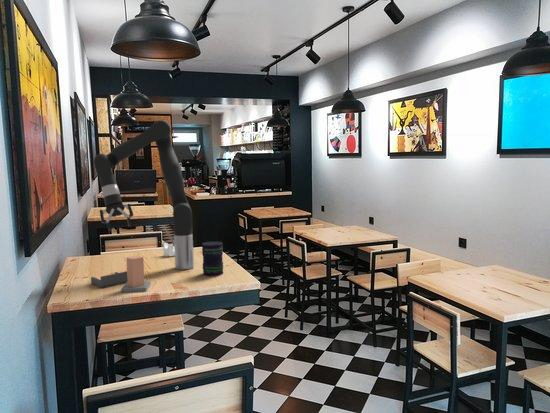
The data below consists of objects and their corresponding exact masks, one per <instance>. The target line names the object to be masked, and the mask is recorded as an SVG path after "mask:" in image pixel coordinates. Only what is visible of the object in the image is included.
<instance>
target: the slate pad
mask: <svg viewBox="0 0 550 413" xmlns="http://www.w3.org/2000/svg"><path fill="white" fill-rule="evenodd" d="M150 286H151V280H146V281H145V280H144V285H141V286H137V287H131V286H128V282H127V283H124V285H123V286H122V288H121V289H120V292H121V293H136V292H147V291H148V290H149V288H150Z"/></svg>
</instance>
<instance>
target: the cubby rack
mask: <svg viewBox="0 0 550 413" xmlns="http://www.w3.org/2000/svg"><path fill="white" fill-rule="evenodd" d="M127 282H128V281H127V270H126V271H122V272H121V271H120V272H118V271H115V272H114V273H112V274H107V275H101V276H100V278H97V277H95V276H90V284H91V285H93V286H96V287H98V288H101V289H105V288H109V287H114V286H119V285H122V284H124V285H125V284H126V283H127Z"/></svg>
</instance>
